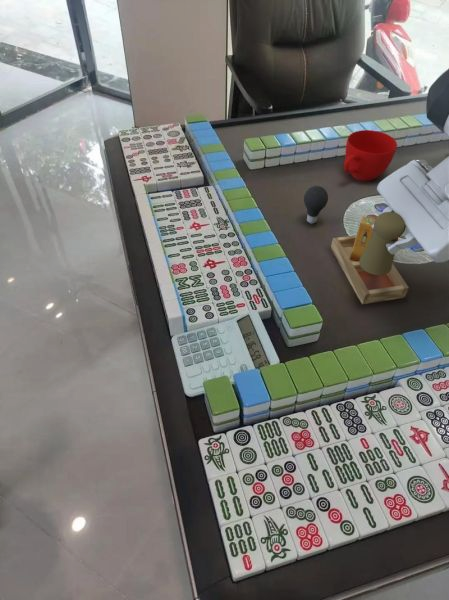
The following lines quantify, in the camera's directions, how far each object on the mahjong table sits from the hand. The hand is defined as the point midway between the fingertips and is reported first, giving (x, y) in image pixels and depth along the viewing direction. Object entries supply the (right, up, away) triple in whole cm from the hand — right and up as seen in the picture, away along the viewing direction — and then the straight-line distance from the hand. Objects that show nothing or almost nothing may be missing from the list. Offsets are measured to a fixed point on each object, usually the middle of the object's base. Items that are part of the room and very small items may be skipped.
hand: (381, 240), depth 77 cm
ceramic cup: (+10, +24, +44) cm, 51 cm away
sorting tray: (+3, -4, +18) cm, 19 cm away
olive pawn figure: (+1, -4, +5) cm, 6 cm away
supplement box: (+2, -1, +21) cm, 21 cm away
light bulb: (-7, +9, +30) cm, 32 cm away
